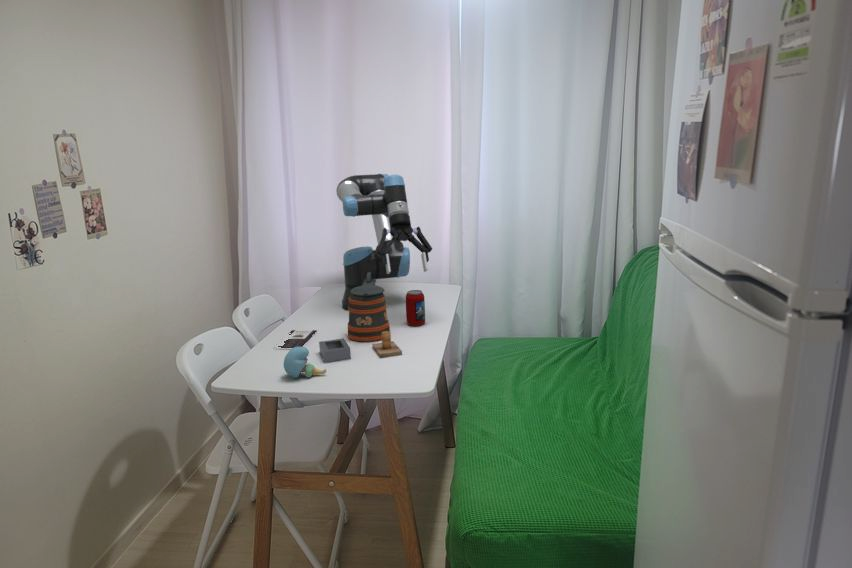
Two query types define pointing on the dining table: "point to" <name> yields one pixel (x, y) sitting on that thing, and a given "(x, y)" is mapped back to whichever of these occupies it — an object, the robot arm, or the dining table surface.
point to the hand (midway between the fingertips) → (407, 271)
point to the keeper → (386, 346)
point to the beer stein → (367, 312)
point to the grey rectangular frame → (335, 350)
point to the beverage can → (415, 307)
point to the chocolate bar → (298, 338)
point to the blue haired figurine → (299, 363)
